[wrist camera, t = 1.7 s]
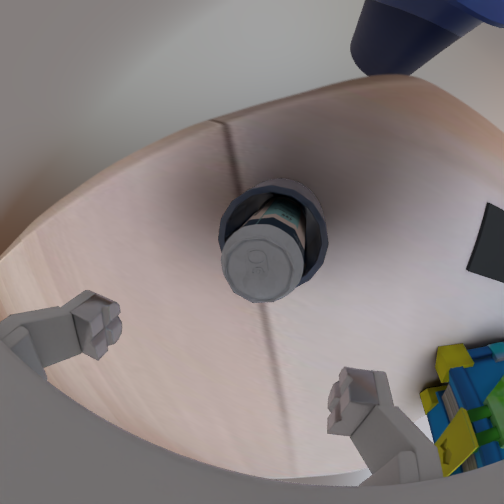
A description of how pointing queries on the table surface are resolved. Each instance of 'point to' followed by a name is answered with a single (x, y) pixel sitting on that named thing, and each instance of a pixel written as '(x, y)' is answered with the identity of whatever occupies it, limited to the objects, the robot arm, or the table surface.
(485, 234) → the mat
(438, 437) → the decorative book
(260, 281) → the supplement bottle
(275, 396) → the table surface
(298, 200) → the cup
